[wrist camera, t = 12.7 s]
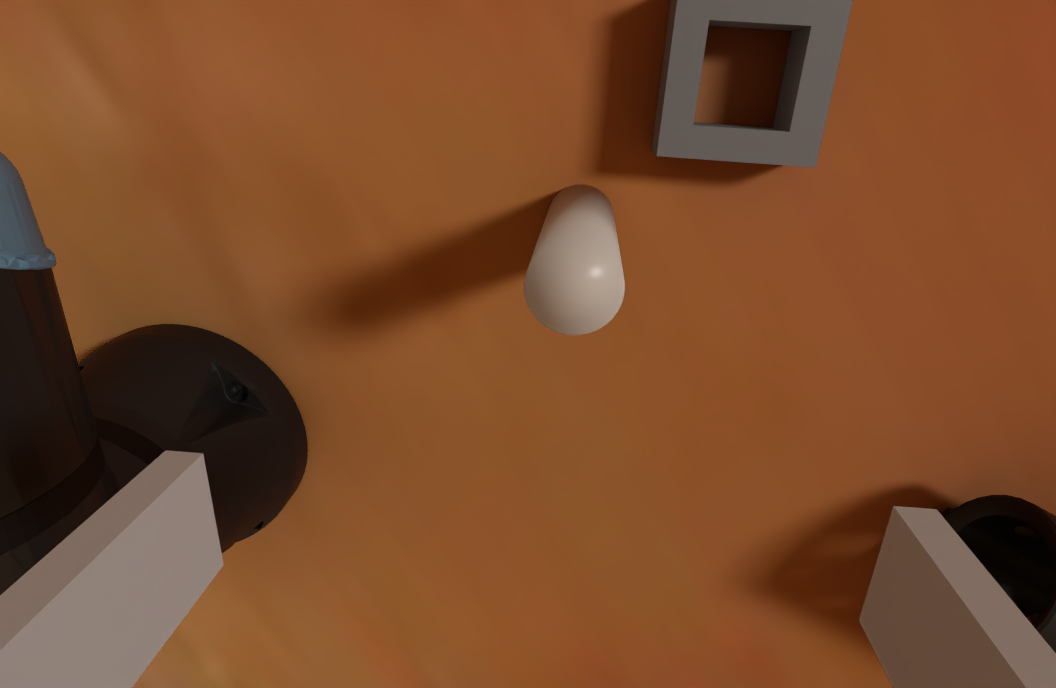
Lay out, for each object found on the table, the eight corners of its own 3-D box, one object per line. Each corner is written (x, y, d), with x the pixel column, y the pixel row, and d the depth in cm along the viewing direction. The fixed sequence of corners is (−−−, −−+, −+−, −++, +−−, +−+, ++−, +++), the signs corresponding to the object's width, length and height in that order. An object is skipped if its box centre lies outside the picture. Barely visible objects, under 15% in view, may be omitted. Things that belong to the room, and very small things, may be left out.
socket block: (651, 150, 33) (656, 156, 31) (672, -12, 30) (680, -21, 28) (796, 160, 33) (815, 167, 30) (831, -3, 30) (855, -12, 27)
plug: (544, 247, 36) (520, 329, 24) (550, 181, 34) (528, 234, 22) (609, 253, 36) (617, 339, 24) (617, 187, 34) (631, 244, 22)
